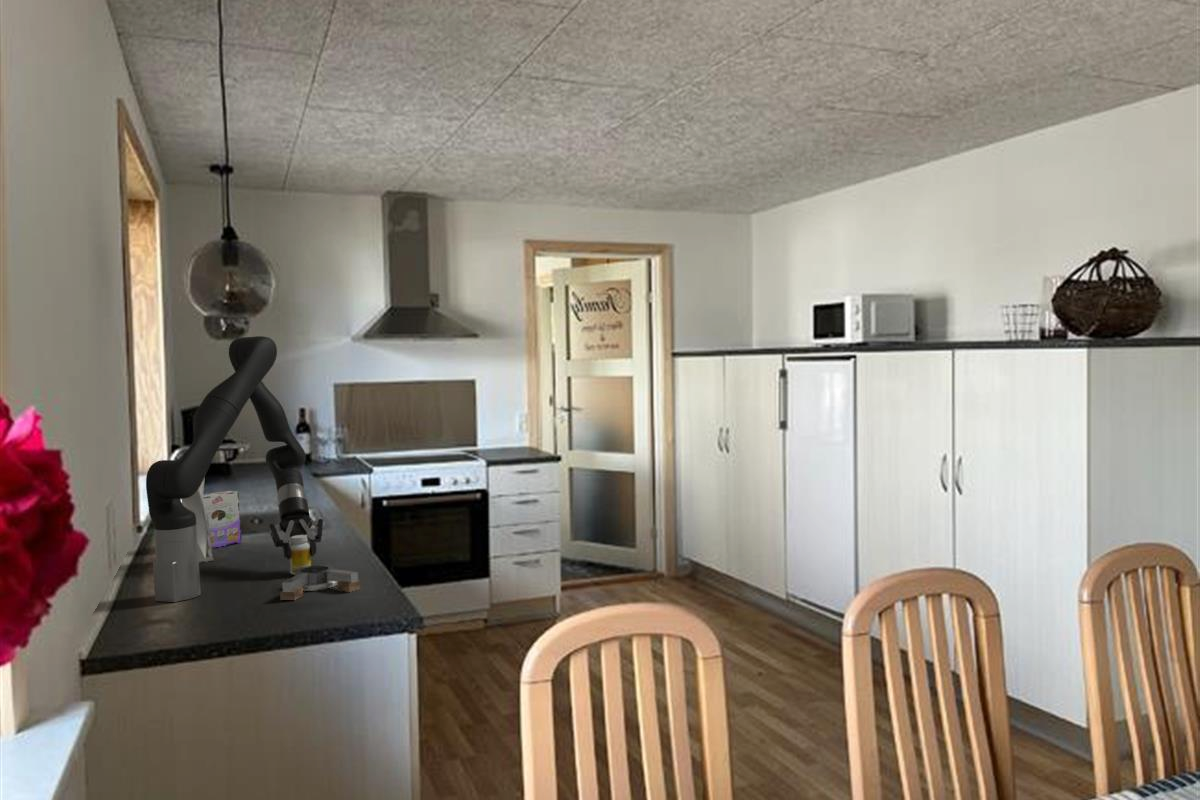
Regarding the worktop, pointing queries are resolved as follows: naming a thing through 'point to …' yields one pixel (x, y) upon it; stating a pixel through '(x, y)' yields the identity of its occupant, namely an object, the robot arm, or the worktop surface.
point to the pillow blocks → (340, 587)
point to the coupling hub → (316, 577)
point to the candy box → (223, 517)
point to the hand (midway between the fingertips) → (301, 555)
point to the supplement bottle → (299, 553)
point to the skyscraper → (200, 524)
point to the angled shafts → (331, 575)
